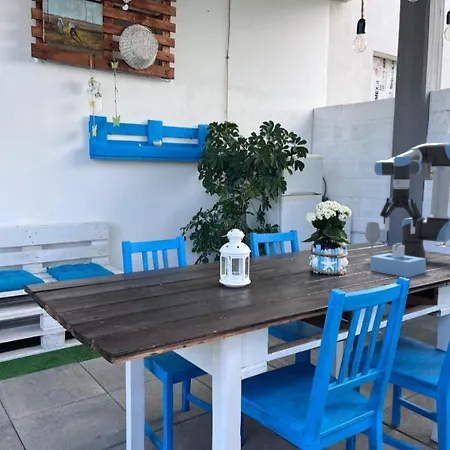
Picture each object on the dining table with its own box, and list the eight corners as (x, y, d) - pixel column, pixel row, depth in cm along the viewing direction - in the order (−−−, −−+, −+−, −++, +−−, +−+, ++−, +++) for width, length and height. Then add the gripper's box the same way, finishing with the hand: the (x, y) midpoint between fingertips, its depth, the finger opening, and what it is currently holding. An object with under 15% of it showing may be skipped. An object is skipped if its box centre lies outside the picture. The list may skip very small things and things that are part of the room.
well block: (388, 266, 242) (388, 253, 242) (425, 272, 227) (426, 258, 226) (370, 270, 232) (370, 256, 231) (407, 277, 217) (408, 262, 216)
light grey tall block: (396, 268, 232) (397, 242, 231) (403, 269, 229) (404, 243, 228) (391, 269, 230) (392, 243, 229) (398, 270, 227) (400, 244, 225)
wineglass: (380, 261, 255) (382, 223, 253) (366, 261, 255) (367, 223, 253) (376, 259, 263) (377, 222, 260) (362, 259, 263) (364, 222, 261)
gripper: (373, 187, 232) (372, 230, 235) (422, 189, 213) (420, 235, 216) (382, 187, 237) (381, 229, 240) (430, 188, 218) (428, 234, 221)
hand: (399, 232), depth 228 cm, fingers open, 13 cm apart
